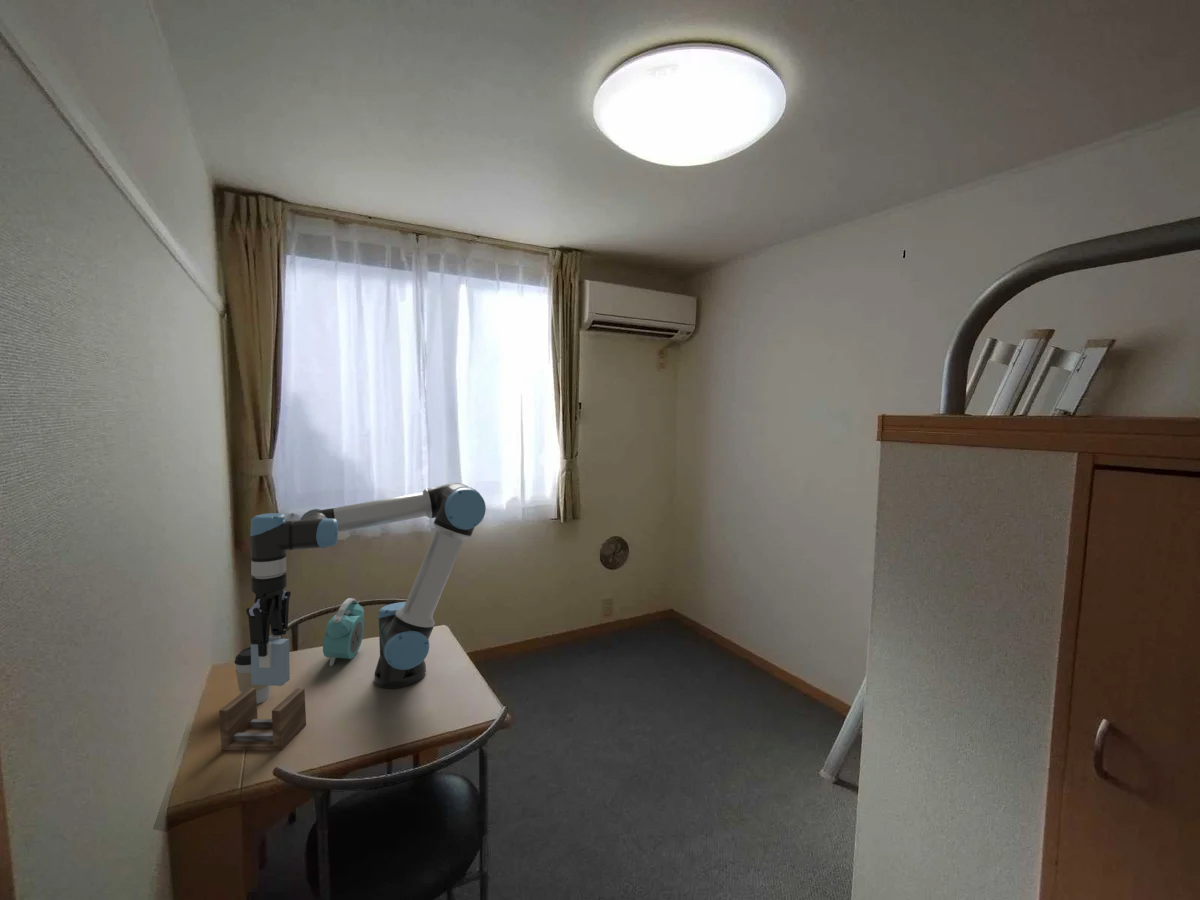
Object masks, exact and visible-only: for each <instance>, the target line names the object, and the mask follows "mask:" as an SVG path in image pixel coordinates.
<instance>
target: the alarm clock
mask: <svg viewBox="0 0 1200 900" xmlns="http://www.w3.org/2000/svg"><path fill="white" fill-rule="evenodd" d="M364 616H365V611H364V607H363V605H360V604H359V601H357V600H356V599H355V598H352V597H348V598H347V599H345V600H344V601H343V602H342V604H341V605H340V607H339V608H338V610H337V612H336V614H335V615H333V616H332V617H331V618H330V619H329V620H328V622H327V623H326V626H325V633H324V636H323V642H322V653H323V656H324V657H326V658H330V661H329V667H332V666H335V663H336V661H337V659H348V660H353V659H354V657H355V656H357V653H358V652H359V649H360V647H361V646H362V645H361V644H362V641H363V637H364V633H365V631H364V630H365V619H364Z"/></svg>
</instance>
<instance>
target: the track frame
mask: <svg viewBox="0 0 1200 900" xmlns="http://www.w3.org/2000/svg"><path fill="white" fill-rule="evenodd" d="M218 711H219V712H218V714H219V715H218V716H219V731H220V747H221V751H283V749H284V748H286V747H287V746H288V745H289V743H290V742H292V740H293V739H294V738H295V737H296V736H297V735H298V734H299V733H300V732H301V731H302V730H303V729H304V728H305V727H306V726H307V716H306V714H307V713H306V693H305V688H304V687H303V688H302V687H297V688H296V689H294V690H293V691H292V692H291V693H290V694H288V696H286V697H285V698H284V699H283V700H282V701H281V702H280V703H279V704H277V705H276V706H275V707H274V708H273V709H272V710H271V718H266V719H265V718H259V719H258V704H257V700H256V688H248V689H246V690H245V691H244V692H243V693H241V694H240V693H239V695H237V696H236V697H235V698H233V699H232V700H231V701H229V702H228V703H227V704H226V705H224V706H223V707H222V708H220V709H219V710H218Z"/></svg>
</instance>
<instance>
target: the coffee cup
mask: <svg viewBox="0 0 1200 900" xmlns="http://www.w3.org/2000/svg"><path fill="white" fill-rule="evenodd" d="M234 659H235V660H234V661H233V662H234V664H235V668H236V669H235V672H236V679H237V684H238V685H237V687H238V690H239V695H240V694H241V693H243V692H244V691H245V690H246V689H248V688H256V700H257V705H259V704H261V703H264V702H265V701H267V700H269V699H270V697H271V685H251V646H249V647H246V648H244V649H242V650H240V651H239V653H238V654H236V656H235V657H234Z"/></svg>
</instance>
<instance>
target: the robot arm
mask: <svg viewBox="0 0 1200 900" xmlns="http://www.w3.org/2000/svg"><path fill="white" fill-rule="evenodd" d="M486 506H487V505H486V502H485V500H484V497H483V496H482V495H481V494H480V492H479V491H477V489H475V488H472V487H470V486H468V485H467V484H464V483H461V482H450V483H447V484H443V485H437V486H432V487H428V488H424V489H423V490H422V492H417V493H413V494H412V493H411V494H407V495H401V496H400V495H399V496H396V497H389V498H383V499H376V500H371V501H366V502H359V503H354V504H348V505H344V506H336V507H333V508H331V507H330V508H325V509H320V508H313V509H309V510H308V511H306V512H304V514H303V515H302V516H301V518H300V520H287V518H286V515H285V514H284V513H281V512H280V513H279V512H278V513H275V512H270V513H268V512H267V513H262V514H257V515H255V516H253V517H252V518H251V520H250V534H249V538H250V539H249V541H250V561H251V563H250V565H251V567H250V569H251V571H250V572H251V576H252V577H251V580H250V582H251V583H250V584H251V585H250V586H251V590H250V591H251V592H252V593H254V595H255V599H254V603H253V605H252V606H251V607H247V608H246V610H245V612H246V616H247V617H248V627H249V628H248V629H249V637H250V639H249V641H250V645H251V644H257V645H258V656H259V668H270V667H272V659H271V642H269V638H275V639H283V637H282V636H283V635H286V633H287V629H288V628H289V627H288V626H289V609H290V608H289V606H290V604H289V603H290V599H291V598H290V597H291V593H292V592H291V590H290V591H285V590H284V589H285V588H286V587H287V573H286V572H287V553H286V552H287V551H293V550H307V549H318V548H322V549H323V548H324V549H325V548H328V547H333V546H336V545H338V542H339V541H338V540H339V536H338V535H339V534H340V533H345V532H350V531H355V530H361V529H366V528H371V527H377V526H380V525H381V526H382V525H387V524H392V523H397V522H398V523H399V522H402V521H407V520H413V519H418V518H423V517H427V518H428V519H430V520H431V519H434V521H433V526H434V528H435V533H434V535H433V537H432V539H431V542H430V544H429V546H428V548H427V551H426V553H425V556H424V557H423V560H422V563H421V566H420V568H419V570H418V572H417V574H416V575H417V576H416V577H415V580H414V582H413V585H412V586H411V589H410V592H409V594H408V595H407V599H406V601H399V602H394V603H390V604H386V605H384V606H382V607H381V608H380V609H379V610H378V617H377V619H378V633H379V635H378V637H379V638H378V639H379V640H378V641H379V658H378V660H377V664H376V667H375V670H374V676H373V677H374V684H375V685H376V686H378V687H380V688H383V689H400V688H405V687H408V686H411V685H413V684H416V683H417V682H419V681H420V680H422V679H423V678H424V677H425V675H426V674H425V672H426V673H427V665H426V661H425V659H426V658H427V656H428V654H429V650H430V640H429V639H430V637H431V635H432V631H433V629H434V626H435V624H436V622H435V620H434V617H433V616H434V614H435V612H436V609H437V606H438V603H439V602H440V598H441V596H442V593H443V591H444V588H445V586H446V584H447V582H448V580H449V578H450V577H449V576H450V574H451V572H452V570H453V567H454V565H455V562H456V560H457V558H458V555H459V553H460V550H461V548H462V546H463V543H464V541H465V540H467V539H469V538H471V537H472V534H473V532H474V530H475V527H477V526H479V524H480V523H481V522H482V521H483V520H484V517H485V515H486V508H487V507H486ZM270 631H271V635H270ZM424 674H425V675H424ZM423 676H424V677H423ZM422 677H423V678H422ZM421 678H422V679H421ZM419 679H420V680H419ZM418 680H419V681H418ZM416 681H417V682H416ZM415 682H416V683H415Z"/></svg>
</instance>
